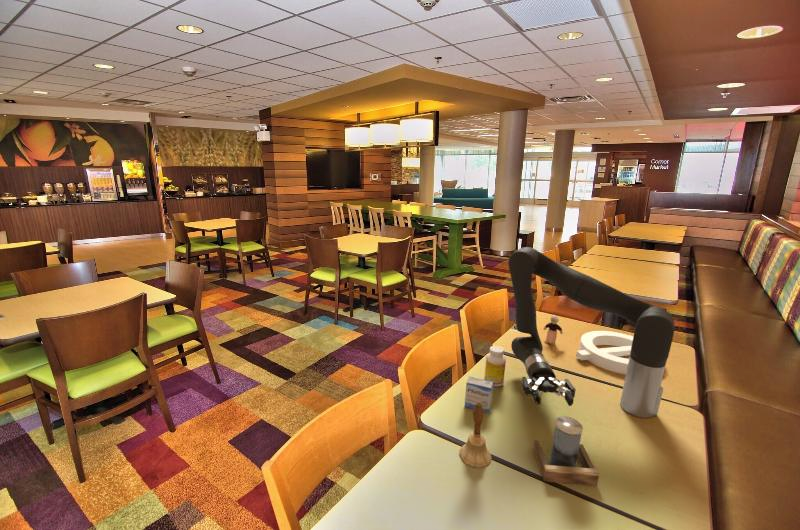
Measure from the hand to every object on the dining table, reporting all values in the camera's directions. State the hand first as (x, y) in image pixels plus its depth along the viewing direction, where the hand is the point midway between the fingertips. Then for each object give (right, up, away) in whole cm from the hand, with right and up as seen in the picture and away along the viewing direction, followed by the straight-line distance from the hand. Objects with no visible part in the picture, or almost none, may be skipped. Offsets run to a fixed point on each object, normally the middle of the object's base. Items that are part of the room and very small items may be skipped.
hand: (555, 402), depth 104 cm
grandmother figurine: (+21, +5, +56) cm, 60 cm away
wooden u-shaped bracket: (-2, -13, -8) cm, 16 cm away
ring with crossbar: (+44, +1, +46) cm, 64 cm away
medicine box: (-19, -7, +15) cm, 24 cm away
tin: (-1, -13, -8) cm, 15 cm away
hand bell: (-23, -12, -5) cm, 27 cm away
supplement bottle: (-10, -3, +27) cm, 29 cm away
